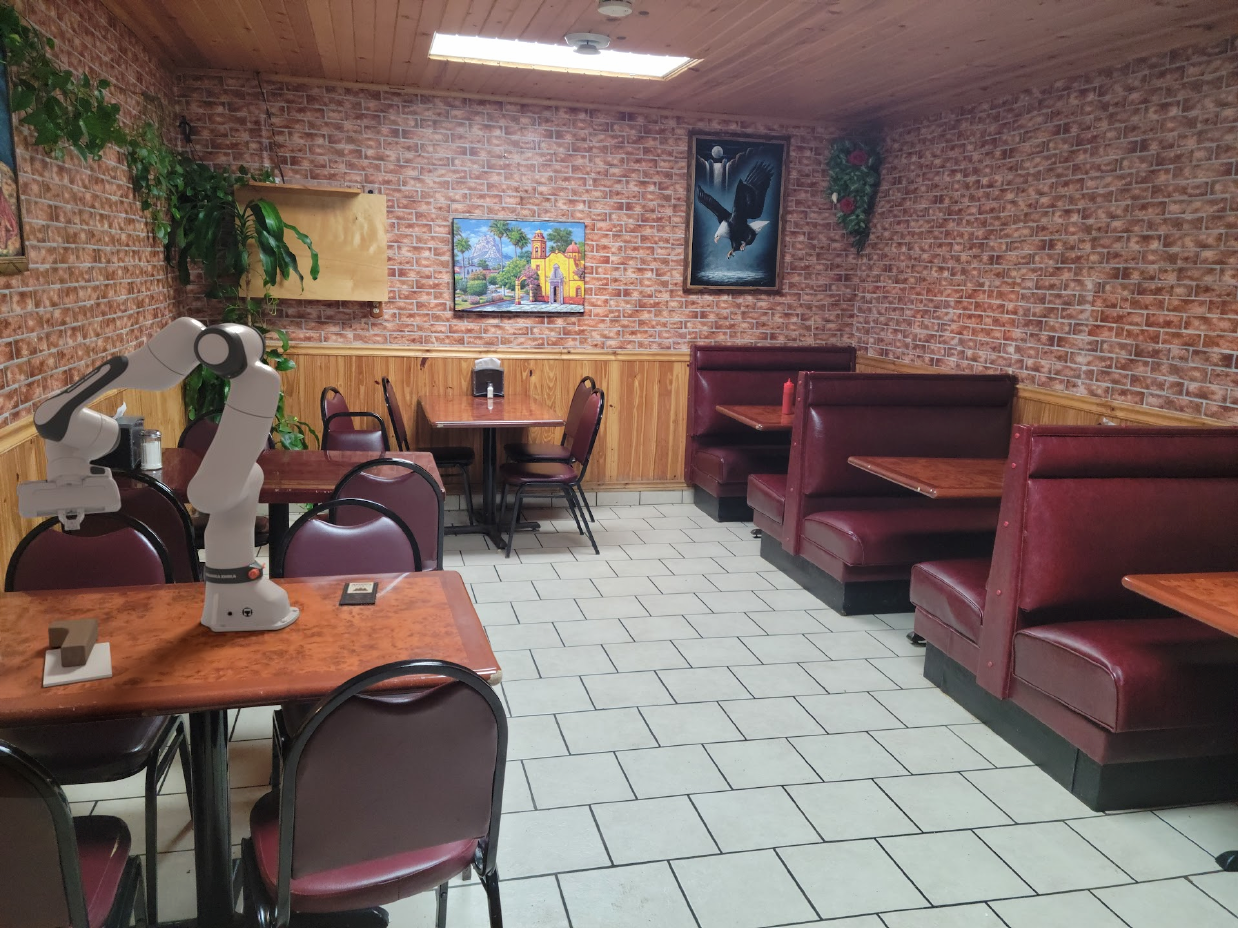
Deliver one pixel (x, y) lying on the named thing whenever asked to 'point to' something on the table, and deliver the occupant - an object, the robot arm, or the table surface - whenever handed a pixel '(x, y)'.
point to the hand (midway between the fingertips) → (72, 528)
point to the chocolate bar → (359, 593)
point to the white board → (77, 667)
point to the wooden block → (74, 640)
